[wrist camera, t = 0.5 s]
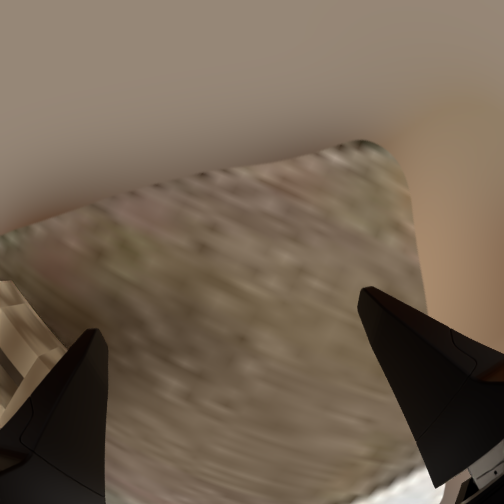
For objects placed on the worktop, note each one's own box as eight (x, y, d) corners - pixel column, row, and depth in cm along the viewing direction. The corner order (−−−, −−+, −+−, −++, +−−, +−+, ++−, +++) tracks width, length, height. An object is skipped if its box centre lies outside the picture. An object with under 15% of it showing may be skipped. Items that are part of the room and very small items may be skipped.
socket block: (84, 367, 22) (63, 384, 18) (37, 428, 21) (18, 446, 17) (11, 280, 22) (-17, 281, 17) (-26, 350, 21) (-51, 358, 16)
